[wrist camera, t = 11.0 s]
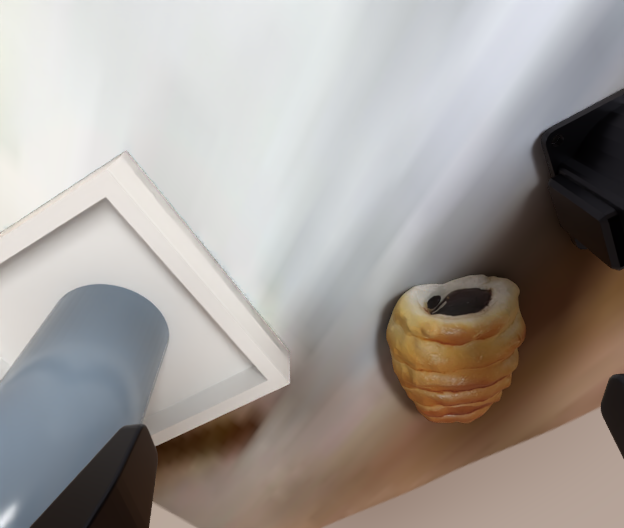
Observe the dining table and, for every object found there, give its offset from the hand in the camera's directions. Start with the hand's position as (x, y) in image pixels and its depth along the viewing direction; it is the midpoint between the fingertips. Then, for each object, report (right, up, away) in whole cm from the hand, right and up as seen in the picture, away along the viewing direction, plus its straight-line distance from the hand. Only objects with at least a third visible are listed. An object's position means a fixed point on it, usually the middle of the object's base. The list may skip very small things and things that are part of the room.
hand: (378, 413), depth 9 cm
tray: (-11, 0, +14) cm, 18 cm away
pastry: (+6, -1, +16) cm, 18 cm away
